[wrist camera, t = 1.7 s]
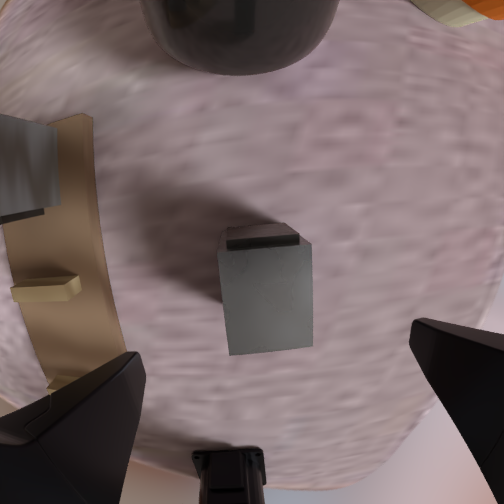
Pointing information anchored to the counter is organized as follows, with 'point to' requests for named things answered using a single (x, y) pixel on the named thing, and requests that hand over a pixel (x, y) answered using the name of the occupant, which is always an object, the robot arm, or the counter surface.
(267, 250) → the block
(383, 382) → the counter surface
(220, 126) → the counter surface
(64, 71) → the counter surface
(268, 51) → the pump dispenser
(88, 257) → the rail
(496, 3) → the reusable coffee cup
